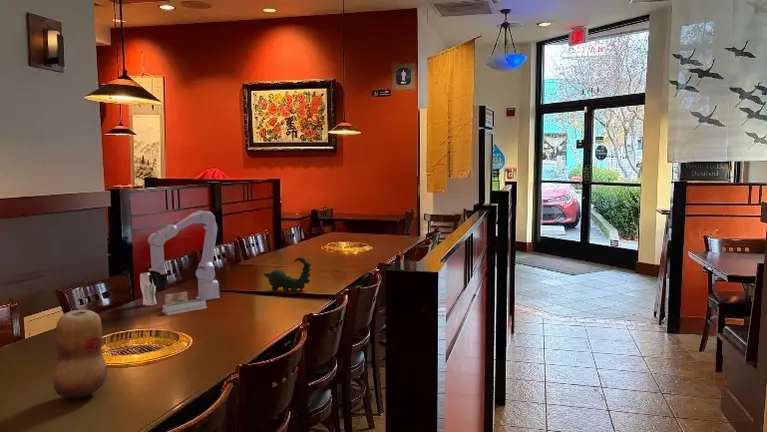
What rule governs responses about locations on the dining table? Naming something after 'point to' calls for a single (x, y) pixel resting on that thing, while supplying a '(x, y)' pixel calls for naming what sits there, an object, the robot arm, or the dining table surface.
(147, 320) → the dining table surface
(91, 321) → the butternut squash
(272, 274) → the toy figurine
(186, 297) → the door panel
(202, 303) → the door track
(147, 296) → the beer glass
